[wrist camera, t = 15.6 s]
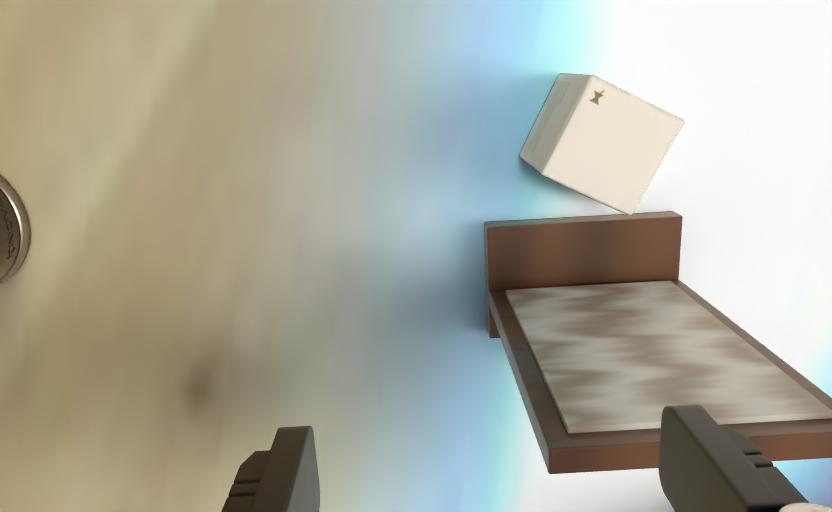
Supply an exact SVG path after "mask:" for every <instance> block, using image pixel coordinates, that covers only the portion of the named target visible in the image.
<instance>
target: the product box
mask: <svg viewBox="0 0 832 512" xmlns="http://www.w3.org/2000/svg"><path fill="white" fill-rule="evenodd" d="M683 124H684V120H682V119H681V118H679V117H676V116H674V115H672V114H670V113H668V112H666V111H664V110H662V109H660V108H658V107H656V106H654V105H652V104H650V103H648V102H646V101H644V100H642V99H641V98H639V97H637V96H634V95H632V94H630V93H628V92H626V91H624V90H622V89H620V88H618V87H616V86H614V85H612V84H610V83H608V82H606V81H604V80H602V79H600V78H598V77H596V76H594V75H582V74H567V73H560V74H559V76H558V77H557V79H556V81H555V83H554V85H553V87H552V89H551V91H550V93H549V95H548V97H547V99H546V101H545V103H544V105H543V107H542V110H541V112H540V114H539V116H538V118H537V120H536V122H535V124H534V126H533V128H532V130H531V132H530V134H529V136H528V138H527V140H526V142H525V144H524V146H523V148H522V150H521V152H520V155H519V156H520V157H521V158H522V159H523V160H525V161H526V162H527V163H529V164H530V165H531V166H533V167H534V168H535V169H536V170H538V171H539V172H540V173H541V174H542V175H543V176H545V177H547V178H549V179H551V180H553V181H555V182H557V183H559V184H561V185H563V186H566V187H568V188H570V189H572V190H574V191H576V192H578V193H580V194H582V195H585V196H587V197H589V198H591V199H593V200H595V201H597V202H600V203H602V204H604V205H606V206H609V207H611V208H613V209H615V210H618V211H620V212H623V213H625V214H628V215H632V214H633V212H634V211H635V209H636V207H637V205H638V204H639V202H640V200H641V198H642V196H643V195H644V193H645V191H646V189H647V187H648V186H649V184H650V182H651V180H652V178H653V176H654V175H655V173H656V171H657V169H658V167H659V166H660V164H661V162H662V160H663V158H664V156H665V155H666V153H667V151H668V149H669V148H670V146H671V144H672V142H673V141H674V139H675V137H676V135H677V134H678V132H679V130H680V129H681V127H682V125H683Z"/></svg>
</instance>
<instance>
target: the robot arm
mask: <svg viewBox="0 0 832 512" xmlns="http://www.w3.org/2000/svg"><path fill="white" fill-rule="evenodd" d="M28 246H29V224H28V219H27V216H26V213H25V210H24V207H23V205H22V203H21V201H20V199H19V198H18V196H17V195H16V193H15V192H14V190H13V189H12V188H11V187H10V185H9V184H8V183H7V182H6V181H5V180H4V179H3V178H2V177H1V176H0V283H2V282H4V281H5V280H7V279H8V278H9V277H11V276H12V275H13V274H14V273H15V272H16V271H17V270H18V268H19V267H20V266H21V264H22V262H23V260H24V258H25V256H26V253H27V250H28ZM659 476H660V481H661V485H662V488H663V491H664V493H665V495H666V497H667V499H668V500H669V502H670V503H671V505H672V507H673V508H674V510H675V512H832V509H831V508H828V507H825V506H822V505H818V504H812V503H809V502H808V501H807V500H806V499H805V498H804V497H803V496H802V495H801V493H800V492H799V491H798V490H797V489H796V488H795V487H794V486H793V485H792V484H791V483H790V482H789V481H788V480H787V478H786V477H785V476H784V475H783V474H782V473H781V472H780V471H779V470H778V469H777V468H776V467H773V463H772V462H771V461H770V460H769V459H768V458H767V457H766V456H765V455H762V452H761V450H760V449H759V448H758V447H757V446H756V445H755V444H754V443H753V442H752V441H751V440H750V439H749V438H748V437H747V436H745V435H744V434H742V433H740V432H738V431H737V430H735V429H733V428H731V427H730V426H728V425H718V424H717V423H716V421H715V420H714V419H713V418H712V417H711V416H710V415H709V413H708V412H707V411H706V410H705V409H704V408H703V407H702V406H701V405H699V404H694V405H676V406H665V407H664V409H663V411H662V417H661V434H660V450H659ZM319 507H320V487H319V477H318V468H317V459H316V450H315V442H314V434H313V429H312V427H311V426H300V427H282V428H278V430H277V433H276V436H275V439H274V441H273V444H272V447H271V450H269V451H255V452H254V453H253V454H252V455H251V456H250V457H249V458H248V459H247V460H246V461H245V462H244V463H243V464H242V465H241V466H240V468H239V470H238V473H237V475H236V478H235V480H234V484H233V485H232V487H231V490H230V492H229V497H228V498H227V499H226V502H225V504H224V507H223V509H222V512H319Z"/></svg>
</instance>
